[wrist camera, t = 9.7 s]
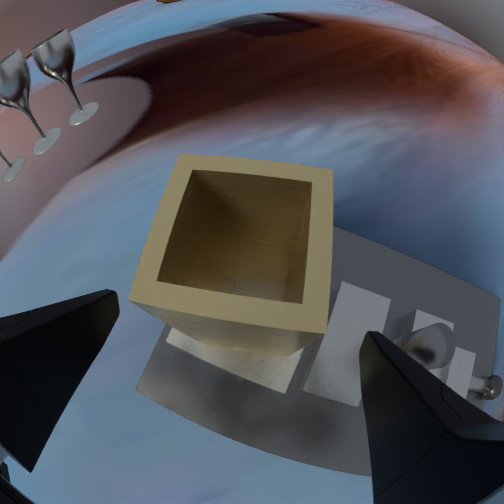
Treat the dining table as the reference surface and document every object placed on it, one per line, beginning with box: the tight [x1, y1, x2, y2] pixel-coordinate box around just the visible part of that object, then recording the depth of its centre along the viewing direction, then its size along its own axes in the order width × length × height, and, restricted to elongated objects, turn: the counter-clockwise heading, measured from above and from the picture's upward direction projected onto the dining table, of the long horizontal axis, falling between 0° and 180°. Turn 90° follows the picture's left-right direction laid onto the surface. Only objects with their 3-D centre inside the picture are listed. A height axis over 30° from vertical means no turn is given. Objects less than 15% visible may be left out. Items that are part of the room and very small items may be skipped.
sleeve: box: [128, 154, 333, 357], centre depth 11 cm, size 5×5×9 cm
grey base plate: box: [135, 226, 503, 477], centre depth 12 cm, size 14×23×7 cm, turn 67°
